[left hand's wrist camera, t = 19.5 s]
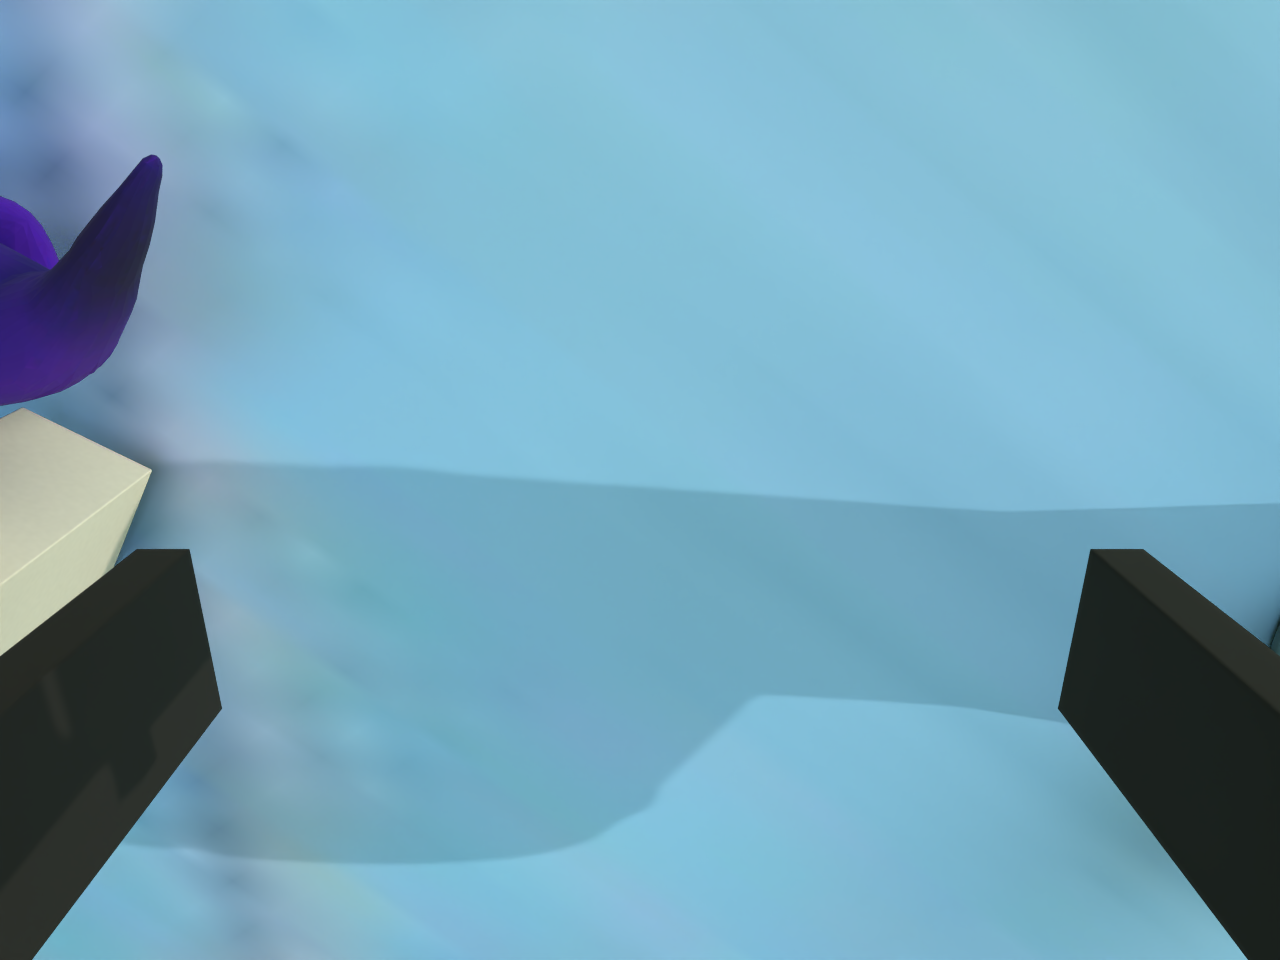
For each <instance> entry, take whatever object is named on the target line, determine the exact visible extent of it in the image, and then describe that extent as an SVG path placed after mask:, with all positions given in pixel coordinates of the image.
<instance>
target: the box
mask: <svg viewBox="0 0 1280 960" xmlns="http://www.w3.org/2000/svg"><path fill="white" fill-rule="evenodd" d="M151 472H152V470H151V469H149V468H147V467H145V466H143V465H141V464H139V463H137V462H135V461H133V460H130V459H128V458H126V457H124V456H122V455H120V454H118V453H116V452H114V451H112V450H110V449H108V448H106V447H104V446H102V445H100V444H97V443H95V442H93V441H91V440H89V439H87V438H85V437H83V436H81V435H79V434H77V433H75V432H73V431H71V430H69V429H67V428H64V427H62V426H60V425H58V424H56V423H54V422H52V421H50V420H48V419H46V418H44V417H42V416H40V415H38V414H36V413H34V412H31V411H29V410H27V409H25V408H20V409H18V410H16V411H14V412H12V413H10V414H8V415H6V416H4V417H2V418H0V656H1V655H2V654H3V653H5V652H6V651H7V650H9V649H10V648H11V647H12V646H14V645H15V644H16V643H18V642H19V641H20V640H21V639H23V638H24V637H25V636H26V635H28V634H29V633H30V632H32V631H33V630H34V629H35V628H37V627H38V626H39V625H41V624H42V623H43V622H44V621H46V620H47V619H48V618H50V617H51V616H52V615H53V614H55V613H56V612H57V611H58V610H60V609H61V608H62V607H64V606H65V605H66V604H67V603H69V602H70V601H71V600H73V599H74V598H75V597H76V596H78V595H79V594H80V593H81V592H83V591H84V590H85V589H87V588H88V587H89V586H90V585H92V584H93V583H94V582H96V581H97V580H98V579H99V578H101V577H102V576H103V575H105V574H106V573H107V572H108V571H110V570H111V569H112V568H113V567H114V565H115V563H116V560H117V558H118V555H119V553H120V550H121V547H122V545H123V542H124V540H125V537H126V535H127V532H128V530H129V527H130V525H131V522H132V520H133V517H134V515H135V512H136V510H137V507H138V505H139V502H140V499H141V497H142V494H143V492H144V489H145V487H146V484H147V482H148V479H149V477H150V474H151Z"/></svg>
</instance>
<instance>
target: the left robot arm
mask: <svg viewBox="0 0 1280 960" xmlns="http://www.w3.org/2000/svg"><path fill="white" fill-rule="evenodd" d="M221 709H222V706H221V701H220V696H219V692H218V687H217V682H216V677H215V672H214V667H213V662H212V657H211V652H210V648H209V643H208V638H207V633H206V628H205V623H204V618H203V613H202V608H201V603H200V599H199V594H198V589H197V584H196V579H195V574H194V569H193V564H192V559H191V554H190V550H189V549H136V550H135V551H134V552H133V553H131V554H130V555H129V556H128V557H126V558H125V559H124V560H122V561H121V562H120V563H119V564H117V565H116V566H115V567H113V568H112V569H111V570H110V571H108V572H107V573H106V574H105V575H103V576H102V577H101V578H99V579H98V580H97V581H96V582H94V583H93V584H92V585H90V586H89V587H88V588H87V589H85V590H84V591H83V592H81V593H80V594H79V595H78V596H76V597H75V598H74V599H73V600H71V601H70V602H69V603H67V604H66V605H65V606H64V607H62V608H61V609H60V610H58V611H57V612H56V613H55V614H53V615H52V616H51V617H50V618H48V619H47V620H46V621H44V622H43V623H42V624H41V625H39V626H38V627H37V628H35V629H34V630H33V631H32V632H30V633H29V634H28V635H26V636H25V637H24V638H23V639H21V640H20V641H19V642H18V643H16V644H15V645H14V646H12V647H11V648H10V649H9V650H7V651H6V652H5V653H3V654H2V655H1V656H0V960H32V959H33V958H34V956H35V955H36V954H37V952H38V951H39V950H40V948H41V947H42V946H43V944H44V943H45V942H46V941H47V939H48V938H49V937H50V935H51V934H52V933H53V931H54V930H55V929H56V927H57V926H58V925H59V923H60V922H61V921H62V919H63V918H64V917H65V915H66V914H67V913H68V911H69V910H70V909H71V907H72V906H73V905H74V903H75V902H76V901H77V900H78V898H79V897H80V896H81V894H82V893H83V892H84V890H85V889H86V888H87V886H88V885H89V884H90V882H91V881H92V880H93V878H94V877H95V876H96V874H97V873H98V872H99V870H100V869H101V868H102V866H103V865H104V864H105V863H106V861H107V860H108V859H109V857H110V856H111V855H112V853H113V852H114V851H115V849H116V848H117V847H118V845H119V844H120V843H121V841H122V840H123V839H124V837H125V836H126V835H127V833H128V832H129V831H130V829H131V828H132V827H133V825H134V824H135V823H136V822H137V820H138V819H139V818H140V816H141V815H142V814H143V812H144V811H145V810H146V808H147V807H148V806H149V804H150V803H151V802H152V800H153V799H154V798H155V796H156V795H157V794H158V792H159V791H160V790H161V788H162V787H163V786H164V785H165V783H166V782H167V781H168V779H169V778H170V777H171V775H172V774H173V773H174V771H175V770H176V769H177V767H178V766H179V765H180V763H181V762H182V761H183V759H184V758H185V757H186V755H187V754H188V753H189V751H190V750H191V749H192V747H193V746H194V745H195V744H196V742H197V741H198V740H199V738H200V737H201V736H202V734H203V733H204V732H205V730H206V729H207V728H208V726H209V725H210V724H211V722H212V721H213V720H214V718H215V717H216V716H217V714H218V713H219V712H220V710H221ZM1058 709H1059V710H1060V712H1061V713H1062V714H1063V716H1064V717H1065V718H1066V720H1067V721H1068V722H1069V724H1070V725H1071V726H1072V728H1073V729H1074V730H1075V732H1076V733H1077V734H1078V736H1079V737H1080V738H1081V740H1082V741H1083V742H1084V744H1085V745H1086V746H1087V747H1088V749H1089V750H1090V751H1091V753H1092V754H1093V755H1094V757H1095V758H1096V759H1097V761H1098V762H1099V763H1100V765H1101V766H1102V767H1103V769H1104V770H1105V771H1106V773H1107V774H1108V775H1109V777H1110V778H1111V779H1112V781H1113V782H1114V783H1115V785H1116V786H1117V787H1118V788H1119V790H1120V791H1121V792H1122V794H1123V795H1124V796H1125V798H1126V799H1127V800H1128V802H1129V803H1130V804H1131V806H1132V807H1133V808H1134V810H1135V811H1136V812H1137V814H1138V815H1139V816H1140V818H1141V819H1142V820H1143V822H1144V823H1145V824H1146V825H1147V827H1148V828H1149V829H1150V831H1151V832H1152V833H1153V835H1154V836H1155V837H1156V839H1157V840H1158V841H1159V843H1160V844H1161V845H1162V847H1163V848H1164V849H1165V851H1166V852H1167V853H1168V855H1169V856H1170V857H1171V859H1172V860H1173V861H1174V863H1175V864H1176V865H1177V866H1178V868H1179V869H1180V870H1181V872H1182V873H1183V874H1184V876H1185V877H1186V878H1187V880H1188V881H1189V882H1190V884H1191V885H1192V886H1193V888H1194V889H1195V890H1196V892H1197V893H1198V894H1199V896H1200V897H1201V898H1202V900H1203V901H1204V902H1205V904H1206V905H1207V906H1208V907H1209V909H1210V910H1211V911H1212V913H1213V914H1214V915H1215V917H1216V918H1217V919H1218V921H1219V922H1220V923H1221V925H1222V926H1223V927H1224V929H1225V930H1226V931H1227V933H1228V934H1229V935H1230V937H1231V938H1232V939H1233V941H1234V942H1235V943H1236V944H1237V946H1238V947H1239V948H1240V950H1241V951H1242V952H1243V954H1244V955H1245V956H1246V958H1247V959H1248V960H1280V625H1279V627H1278V629H1277V632H1276V634H1275V637H1274V639H1273V642H1272V646H1271V649H1270V648H1269V647H1268V646H1266V645H1265V644H1264V643H1262V642H1261V641H1260V640H1259V639H1257V638H1256V637H1255V636H1254V635H1252V634H1251V633H1250V632H1248V631H1247V630H1246V629H1245V628H1243V627H1242V626H1241V625H1239V624H1238V623H1237V622H1236V621H1234V620H1233V619H1232V618H1230V617H1229V616H1228V615H1227V614H1225V613H1224V612H1223V611H1222V610H1220V609H1219V608H1218V607H1216V606H1215V605H1214V604H1213V603H1211V602H1210V601H1209V600H1207V599H1206V598H1205V597H1204V596H1202V595H1201V594H1200V593H1199V592H1197V591H1196V590H1195V589H1193V588H1192V587H1191V586H1190V585H1188V584H1187V583H1186V582H1184V581H1183V580H1182V579H1181V578H1179V577H1178V576H1177V575H1175V574H1174V573H1173V572H1172V571H1170V570H1169V569H1168V568H1167V567H1165V566H1164V565H1163V564H1161V563H1160V562H1159V561H1158V560H1156V559H1155V558H1154V557H1152V556H1151V555H1150V554H1149V553H1147V552H1146V551H1145V550H1144V549H1091V550H1090V554H1089V559H1088V564H1087V569H1086V574H1085V579H1084V584H1083V589H1082V594H1081V598H1080V603H1079V608H1078V613H1077V618H1076V623H1075V628H1074V633H1073V638H1072V643H1071V647H1070V652H1069V657H1068V662H1067V667H1066V672H1065V677H1064V682H1063V687H1062V692H1061V696H1060V701H1059V706H1058Z"/></svg>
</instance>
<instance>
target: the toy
mask: <svg viewBox="0 0 1280 960" xmlns="http://www.w3.org/2000/svg"><path fill="white" fill-rule="evenodd" d="M161 179H162V163H161V161H160V159H159V158H158V157H157V156H156V155H149V156H147V157H145V158H143V159H142V160H141V161H140V162H139V164H138V165H137V166H136V167H135V169H134V170H133V171H132V172H131V173H130V175H129V176H128V177H127V178H126V180H125V181H124V182H123V183H122V184H121V186H120V187H119V188H118V189H117V190H116V191H115V192H114V193H113V195H112V196H111V197H110V198H109V199H108V200H107V201H106V202H105V203H104V205H103V206H102V207H101V208H100V209H99V210H98V212H97V213H96V214H95V216H94V217H93V218H92V219H91V221H90V222H89V223H88V224H87V226H86V227H85V228H84V229H83V231H82V232H81V233H80V234H79V236H78V237H77V238H76V240H75V242H74V244H73V245H72V247H71V249H70V250H69V251H68V252H67V253H66V254H65V255H64V256H63V257H62V259H61V260H60V261H59V259H58V257H57V255H56V252H55V250H54V247H53V245H52V243H51V241H50V239H49V238H48V236H47V234H46V232H45V230H44V229H43V227H42V225H41V224H40V223H39V222H38V221H37V219H36V218H35V217H34V216H33V215H32V214H31V213H30V212H29V211H27V210H26V209H24V208H23V207H21V206H20V205H19V204H17V203H16V202H14V201H11V200H9V199H6V198H3V197H1V196H0V406H1V405H8V404H14V403H20V402H25V401H29V400H33V399H37V398H41V397H44V396H47V395H51V394H54V393H57V392H60V391H63V390H65V389H67V388H69V387H71V386H73V385H74V384H76V383H78V382H80V381H81V380H83V379H84V378H85V377H87V376H88V375H89V374H92V373H94V372H95V371H96V369H97V368H98V367H100V366H101V365H102V364H103V363H104V362H105V361H106V360H107V359H108V357H109V356H110V355H111V354H112V352H113V350H114V349H115V347H116V345H117V344H118V341H119V338H120V336H121V334H122V332H123V330H124V328H125V326H126V323H127V321H128V319H129V317H130V315H131V312H132V310H133V307H134V304H135V302H136V299H137V294H138V288H139V283H140V277H141V272H142V267H143V264H144V260H145V257H146V254H147V251H148V248H149V245H150V241H151V236H152V232H153V228H154V223H155V217H156V209H157V202H158V194H159V188H160V184H161Z"/></svg>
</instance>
